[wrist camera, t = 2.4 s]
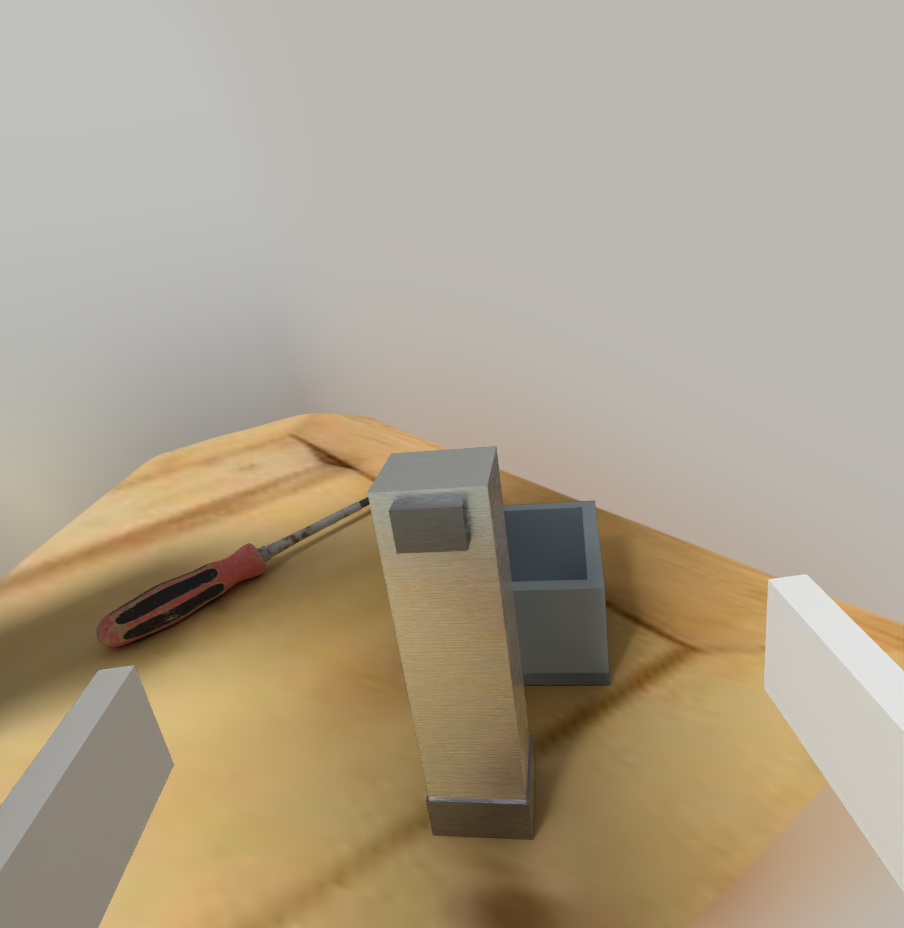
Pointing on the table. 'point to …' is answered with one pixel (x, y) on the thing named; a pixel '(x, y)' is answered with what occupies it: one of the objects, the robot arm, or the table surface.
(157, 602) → the screwdriver
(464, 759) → the brushed metal post
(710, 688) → the table surface
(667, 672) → the table surface
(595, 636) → the caddy
